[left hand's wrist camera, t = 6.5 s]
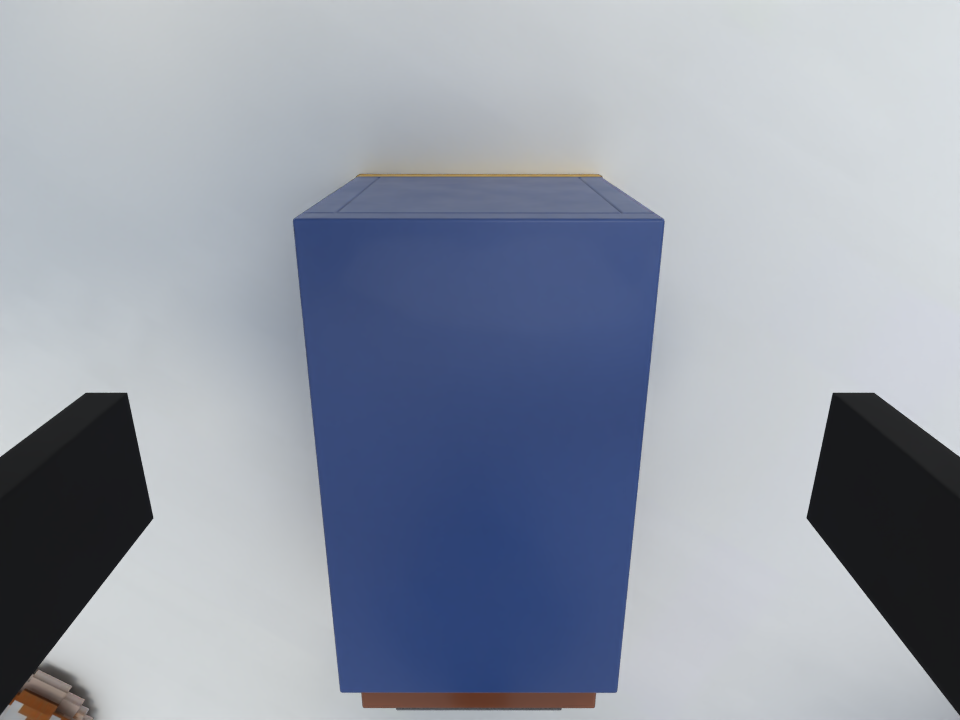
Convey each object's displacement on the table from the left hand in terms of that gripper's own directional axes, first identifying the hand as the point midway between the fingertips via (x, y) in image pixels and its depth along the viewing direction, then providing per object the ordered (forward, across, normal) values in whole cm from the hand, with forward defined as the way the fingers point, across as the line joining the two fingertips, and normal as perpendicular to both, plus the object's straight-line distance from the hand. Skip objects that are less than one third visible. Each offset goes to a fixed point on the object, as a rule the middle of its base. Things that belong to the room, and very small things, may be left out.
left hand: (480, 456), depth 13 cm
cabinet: (+21, 0, +6) cm, 22 cm away
